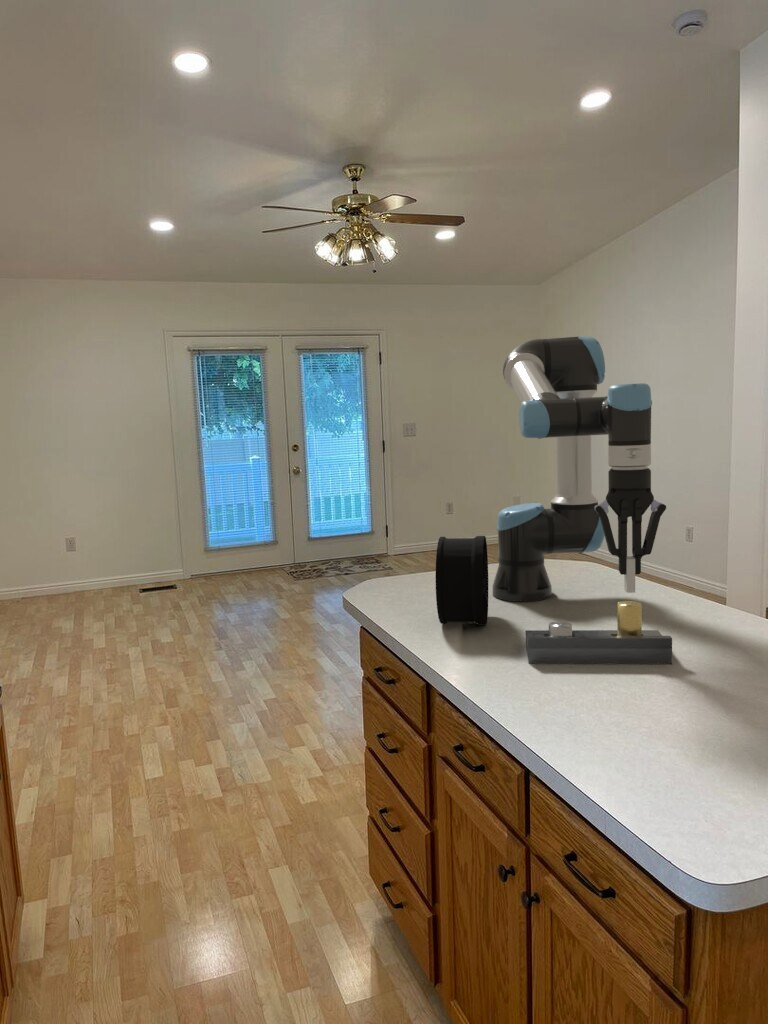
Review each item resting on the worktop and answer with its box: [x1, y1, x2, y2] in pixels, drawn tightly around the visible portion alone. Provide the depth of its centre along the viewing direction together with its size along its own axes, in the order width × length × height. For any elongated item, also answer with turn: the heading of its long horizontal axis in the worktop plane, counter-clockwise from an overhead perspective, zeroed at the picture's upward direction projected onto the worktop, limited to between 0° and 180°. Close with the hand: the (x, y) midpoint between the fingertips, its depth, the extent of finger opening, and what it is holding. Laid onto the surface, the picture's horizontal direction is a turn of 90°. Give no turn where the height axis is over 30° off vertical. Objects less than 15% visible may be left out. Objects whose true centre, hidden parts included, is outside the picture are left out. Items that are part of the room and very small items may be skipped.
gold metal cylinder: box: [616, 600, 643, 636], centre depth 135 cm, size 4×4×10 cm
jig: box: [524, 629, 673, 665], centre depth 137 cm, size 11×26×5 cm, turn 81°
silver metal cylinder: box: [548, 620, 573, 636], centre depth 138 cm, size 4×4×6 cm
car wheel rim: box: [435, 535, 489, 625], centre depth 160 cm, size 20×10×20 cm, turn 168°
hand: (629, 590), depth 134 cm, fingers closed
